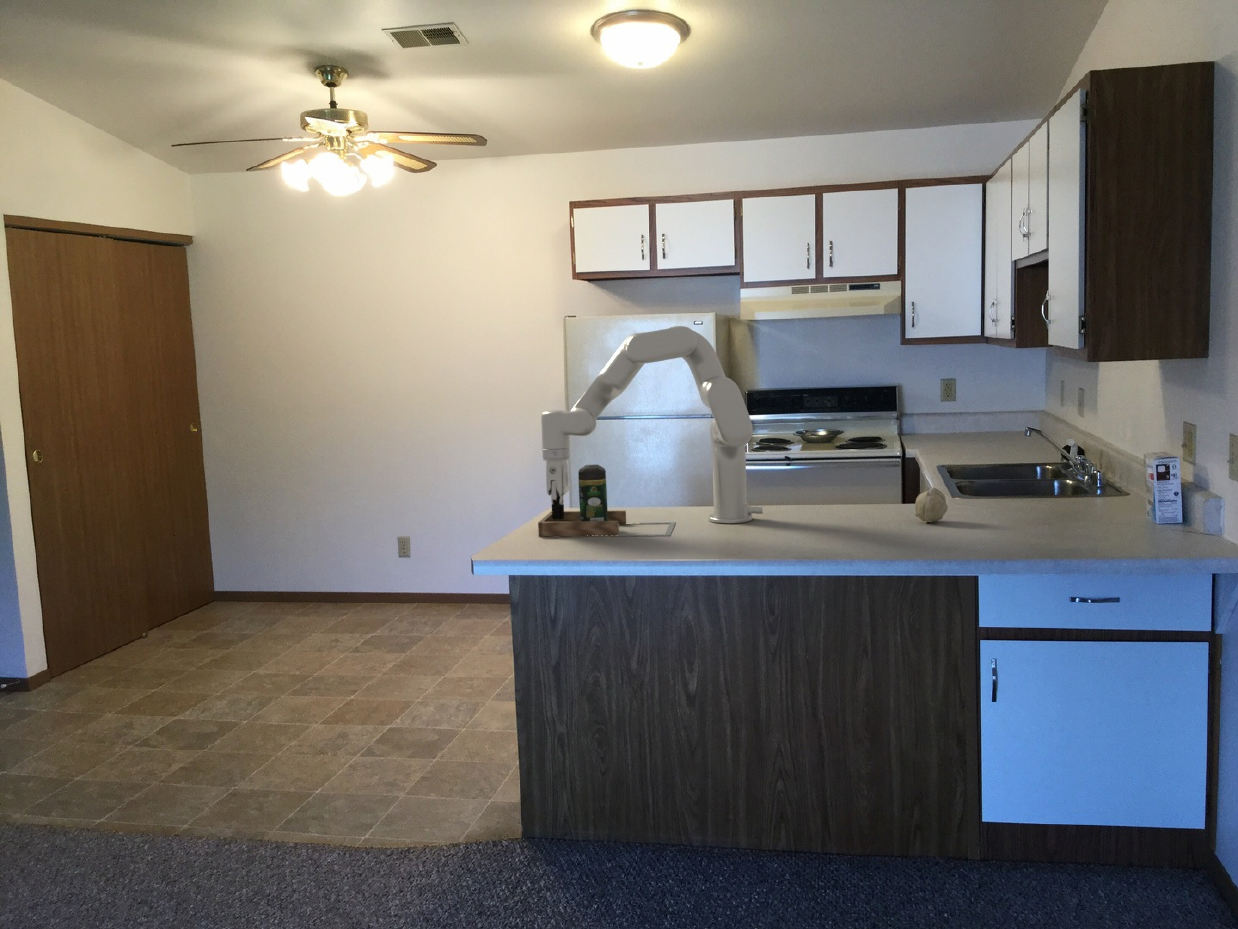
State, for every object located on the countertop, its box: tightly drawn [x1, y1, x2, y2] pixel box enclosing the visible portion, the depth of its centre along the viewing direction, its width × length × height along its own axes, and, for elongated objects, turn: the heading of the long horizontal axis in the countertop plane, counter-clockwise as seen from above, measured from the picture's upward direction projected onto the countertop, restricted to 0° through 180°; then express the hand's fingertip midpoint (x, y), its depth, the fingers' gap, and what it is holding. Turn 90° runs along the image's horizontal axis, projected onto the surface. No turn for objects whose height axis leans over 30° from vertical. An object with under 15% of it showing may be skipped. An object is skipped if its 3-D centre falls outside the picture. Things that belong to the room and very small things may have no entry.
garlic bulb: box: [914, 487, 949, 523], centre depth 266 cm, size 10×8×10 cm
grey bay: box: [617, 521, 677, 537], centre depth 273 cm, size 14×19×1 cm
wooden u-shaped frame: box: [537, 509, 627, 537], centre depth 275 cm, size 22×17×4 cm
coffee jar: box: [577, 464, 609, 521], centre depth 273 cm, size 10×8×19 cm
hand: (558, 518), depth 276 cm, fingers closed
